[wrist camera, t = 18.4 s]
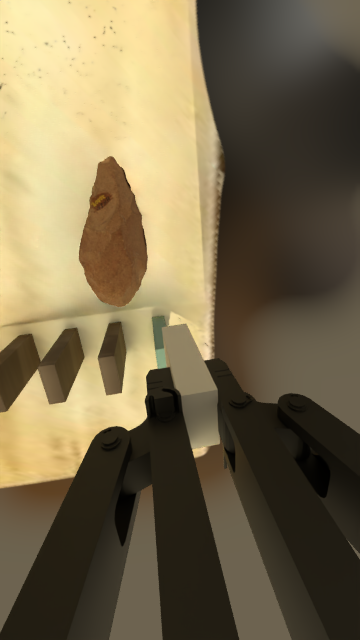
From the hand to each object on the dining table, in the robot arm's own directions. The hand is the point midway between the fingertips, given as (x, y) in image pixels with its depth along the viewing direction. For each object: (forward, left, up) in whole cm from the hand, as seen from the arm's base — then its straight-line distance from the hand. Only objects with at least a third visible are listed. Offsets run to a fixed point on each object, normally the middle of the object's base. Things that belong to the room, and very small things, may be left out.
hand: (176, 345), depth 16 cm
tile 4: (+9, -20, -24) cm, 32 cm away
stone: (-8, -9, -21) cm, 24 cm away
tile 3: (+9, -14, -24) cm, 29 cm away
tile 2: (+9, -7, -24) cm, 26 cm away
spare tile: (+9, -1, -24) cm, 25 cm away
